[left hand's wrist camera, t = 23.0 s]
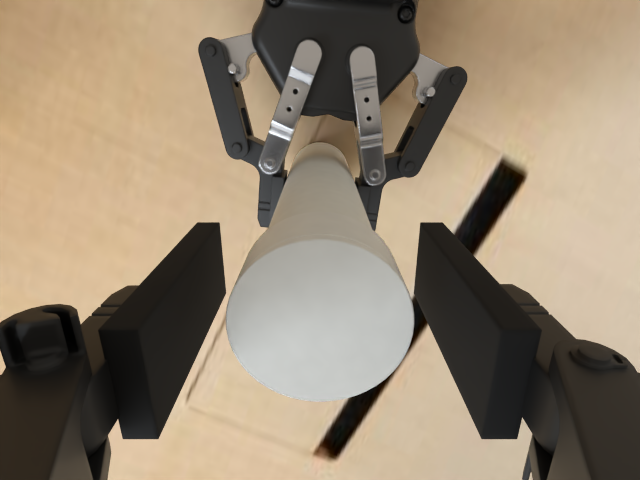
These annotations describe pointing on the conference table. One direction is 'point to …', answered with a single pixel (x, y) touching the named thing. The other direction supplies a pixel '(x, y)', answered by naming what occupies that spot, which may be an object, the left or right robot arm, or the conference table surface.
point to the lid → (320, 309)
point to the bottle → (320, 186)
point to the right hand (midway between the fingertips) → (314, 236)
